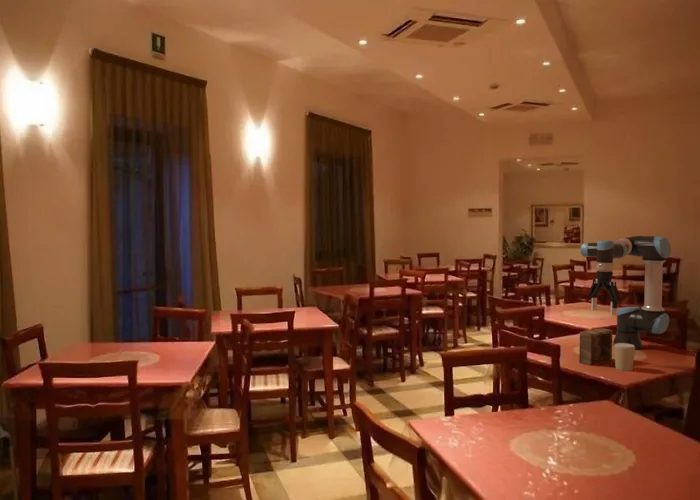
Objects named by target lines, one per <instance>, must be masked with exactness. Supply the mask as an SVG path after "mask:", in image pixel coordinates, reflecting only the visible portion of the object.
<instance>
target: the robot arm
mask: <svg viewBox="0 0 700 500" xmlns="http://www.w3.org/2000/svg"><path fill="white" fill-rule="evenodd" d="M671 247H672V246H671V243H670V241H669V239H668V238H667V237H665V236H657V235H653V236H652V235H636V236H635V235H634V236H629V237H622V238H619V239H618V240H617V239H616V240H609V239H608V240H606V239H603V240H602V239H601V240H598V241H597V242H584V243H582V244H581V245H580V248H579V249H580V250H579V251H580V254H581V256H583V257H587V258H596V270H597V271H596V272H595V273H596V278H593V279H592V283H591V285H590V289H589V291H588V294H587V296H589V297H590V303H591V308H590V309H591V311H597V309H598V297H597V296H598V295H599V294H600V292H601V290H605V291H606V292H607V294H608V295H609V297H610V299H611V301H610V314H609V315H610V316H616V334H615V336H614V339H613V340H612V347H614V345H615V344H616V343H627V344H632V345H634V346H635V350H641V349H643V342H642V340H641V336H640V332H644V333H645V332H646V333H652V334H659V335H660V334H663V333H664V332H666V330H667V328H668V327H669V323H670V317H669V314H668V313H665V312H666V311H665V308H663V306H662V305H663V304H662V303H663V272H664V271H663V264H664V263H665V262H667V259H668V258H669V257H670V256H671V253H672V248H671ZM626 256H633V257H642V258H641V260H642V262H643V263H644V265H645V266H644V298H643V299H644V301H643V303H644V304H643V306H642V307H641V308H640V307H639V306H625V307H624V306H623V307H622V306H621V307H619V308H618V302H620V301H622V299H621V297H620V292H619V290H618V287H617V281H612V279H613V278H614V277H613V276H614V272H613V271H614V259H622V258H624V257H626ZM617 308H618V309H617Z"/></svg>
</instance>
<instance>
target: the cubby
mask: <svg viewBox="0 0 700 500" xmlns="http://www.w3.org/2000/svg"><path fill="white" fill-rule="evenodd" d="M578 356H579V359H578V360H579V364H583V365H586V366H592V364H593V361H597V360H598V361H599V360H601V361H604V360H605V361H609V362H612V360H613V359H612V358H613V329H612V330H611V329H608V328H603V327H602V328H595V329H590V330H583V331H579V355H578Z"/></svg>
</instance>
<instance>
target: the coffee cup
mask: <svg viewBox="0 0 700 500" xmlns="http://www.w3.org/2000/svg"><path fill="white" fill-rule="evenodd" d="M613 347H614V363H615V364H614V365H615V369H616V370H618V369H619V370H618V371H623V370H624V372H632V371H633V370H634V363H635V361H634V360H635V353H636V351H635V350H636V349H635V346H634V345H632V344H627V343H616V344H615V345H614V346H613Z"/></svg>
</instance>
